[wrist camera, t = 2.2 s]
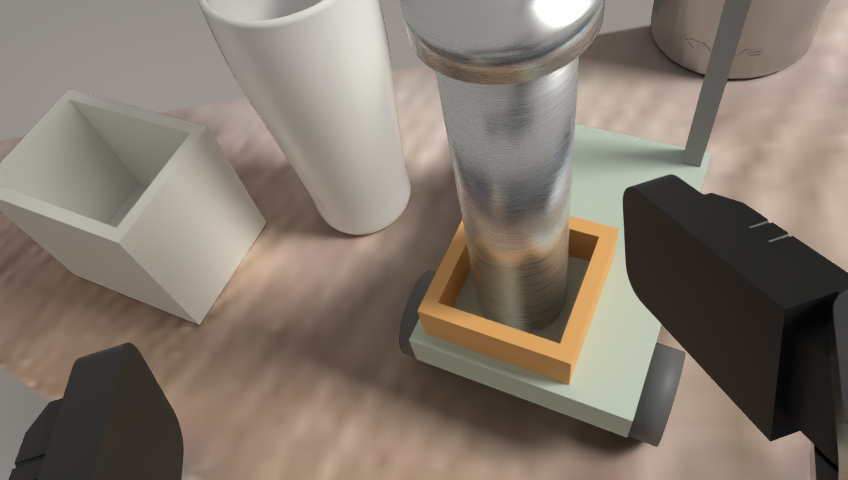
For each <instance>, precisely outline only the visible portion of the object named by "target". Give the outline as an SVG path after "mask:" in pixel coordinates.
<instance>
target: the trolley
mask: <svg viewBox="0 0 848 480" xmlns="http://www.w3.org/2000/svg"><path fill="white" fill-rule="evenodd" d="M751 1H752V0H725V3H724V7H723V11H722V14H721V18H720V22H719V25H718V29H717V33H716V36H715V40H714V44H713V48H712V51H711V55H710V59H709V62H708V66H707V70H706V74H705V77H704V81H703V85H702V88H701V92H700V96H699V100H698V103H697V107H696V111H695V114H694V118H693V122H692V125H691V129H690V133H689V137H688V140H687V144H686V148H684V147H679V146H675V145H670V144H666V143H661V142H656V141H652V140H647V139H643V138H638V137H634V136H629V135H625V134H620V133H615V132H611V131H606V130H602V129H597V128H593V127H588V126H583V125H579V124H575V137H574V155H573V173H572V191H571V209H570V228H569V246H568V264H567V282H566V299H565V304H564V307H563V310H562V312H561V313H560V315H559V316H558V318H557V319H556V320H555V321H554V322H553V323H552V324H551V325H549V326H548V327H546V328H544V329H542V330H540V331H537V332H534V333H527V332H524V331H521V330H518V329H515V328H512V327H509V326H506V325H503V324H500V323H497V322H494V321H491V320H488V319H486V318H485V317H484V316H483V314H482V312H481V311H480V308H479V305H478V301H477V296H476V290H475V285H474V279H473V274H472V268H471V263H470V257H469V252H468V247H467V241H466V236H465V230H464V225H463V219H462V221H461V223H460V225H459V227H458V229H457V231H456V233H455V235H454V237H453V239H452V241H451V243H450V245H449V247H448V250H447V252H446V254H445V256H444V258H443V260H442V262H441V264H440V266H439V268H438V270H437V272H434V271H428V272H426V273H425V274H424V275H423V276H422V277H421V278H420V279H419V281H418V282H417V284H416V285H415V287H414V289H413V291H412V293H411V295H410V297H409V300H408V302H407V305H406V308H405V311H404V314H403V318H402V322H401V327H400V335H399V343H400V348H401V350H402V352H403V353H406V354H408V355H411V356H414V357H416V359H417V360H420V361H423V362H425V363H428V364H431V365H433V366H436V367H439V368H441V369H444V370H447V371H449V372H452V373H455V374H457V375H460V376H463V377H465V378H468V379H471V380H473V381H476V382H479V383H482V384H484V385H487V386H490V387H492V388H495V389H498V390H500V391H503V392H506V393H508V394H511V395H514V396H516V397H519V398H522V399H524V400H527V401H530V402H532V403H535V404H538V405H541V406H543V407H546V408H549V409H551V410H554V411H557V412H559V413H562V414H565V415H567V416H570V417H573V418H575V419H578V420H581V421H583V422H586V423H589V424H591V425H594V426H597V427H600V428H602V429H605V430H608V431H610V432H613V433H616V434H618V435H621V436H624V437H626V438H627V436H629V437H632V438H634V439H637V440H640V441H642V442H645V443H648V444H651V445H653V446H656V447H657V446H658V445H659V443H660V440H661V438H662V435H663V432H664V429H665V426H666V423H667V420H668V417H669V414H670V411H671V408H672V405H673V401H674V398H675V394H676V391H677V387H678V384H679V380H680V376H681V372H682V368H683V364H684V359H685V352H684V351H681V350H678V349H675V348H672V347H668V346H665V345H662V344H659V343H656V341H657V338H658V334H659V331H660V327H661V323H660V322H659V321H658V320H657V319H656V318H655V316H654V315H653V314H652V313H651V312H650V311H649V310H648V309H647V308H646V307H645V306H644V305H643V304H642V302H641V301H640V300H639V299H638V297H637V296H636V294H635V292H634V291H633V288H632V286H631V284H630V281H629V278H628V275H627V270H626V261H625V241H624V221H623V194H624V191H625V189H626V188H628V187H630V186H634V185H637V184H640V183H643V182H646V181H650V180H653V179H656V178H659V177H662V176H665V175H669V174H673V175H676V176H677V177H679V178H680V179H682V180H683V181H685V182H686V183H687V184H689V185H690V186H692V187H693V188H695V189H696V190H697V191H699V192H701V188H702V185H703V181H704V178H705V175H706V171H707V168H708V164H709V161H710V158H711V153H707V152H705V150H706V146H707V143H708V140H709V137H710V134H711V130H712V127H713V124H714V121H715V117H716V114H717V111H718V108H719V104H720V101H721V98H722V95H723V91H724V88H725V85H726V82H727V78H728V75H729V72H730V69H731V66H732V62H733V59H734V56H735V53H736V49H737V46H738V43H739V40H740V36H741V33H742V30H743V27H744V23H745V20H746V17H747V14H748V10H749V7H750V4H751ZM703 195H705V194H703Z"/></svg>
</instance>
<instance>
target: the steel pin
mask: <svg viewBox="0 0 848 480" xmlns="http://www.w3.org/2000/svg"><path fill="white" fill-rule="evenodd" d="M400 2H401V7H402V11H403V16H404V21H405V25H406V30H407V34H408V39H409V42H410V44H411V46H412V49H413V50H414V52H415V53H416V55H417V56H418V57H419V58H420V59H421V60H422V61H423V62H424V63H425V64H426V65H428V66H429V67H430V68H432V69H433V70H435V71H436V77H437V82H438V88H439V93H440V99H441V104H442V110H443V115H444V121H445V126H446V131H447V137H448V142H449V148H450V153H451V159H452V164H453V170H454V175H455V181H456V186H457V192H458V197H459V203H460V208H461V214H462V219H463V225H464V230H465V236H466V241H467V247H468V252H469V257H470V263H471V268H472V274H473V279H474V285H475V290H476V296H477V301H478V305H479V308H480V311H481V312H482V314H483V316H484V317H485V318H486V319H488V320H491V321H494V322H497V323H500V324H503V325H506V326H509V327H512V328H515V329H518V330H521V331H524V332H527V333H534V332H537V331H540V330H542V329H544V328H546V327H548V326H549V325H551V324H552V323H553V322H554V321H555V320H556V319H557V318H558V316H559V315H560V313H561V312H562V310H563V307H564V304H565V299H566V282H567V264H568V246H569V228H570V209H571V191H572V173H573V155H574V137H575V118H576V100H577V82H578V64H579V56H580V55H581V54H582V53H583V52H584V51H585V50H586V49H587V48H588V47H589V46H590V45H591V43H592V42H593V41H594V40H595V38H596V36H597V34H598V32H599V30H600V28H601V25H602V21H603V14H604V4H605V0H400Z"/></svg>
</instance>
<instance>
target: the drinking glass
mask: <svg viewBox="0 0 848 480" xmlns="http://www.w3.org/2000/svg"><path fill="white" fill-rule="evenodd" d="M198 3H199V5H200V7H201V9H202V11H203V13H204V15H205V18H206V20H207V23H208V25H209V27H210V29H211V32H212V34H213V36H214V38H215V40H216V42H217V44H218V46H219V48H220V50H221V52H222V54H223V56H224V58H225V60H226V62H227V64H228V66H229V68H230V70H231V71H232V73H233V75H234V77H235V79H236V80H237V82H238V84H239V86H240V87H241V89H242V90H243V92H244V94H245V95H246V97H247V99H248V100H249V102H250V103H251V105H252V106H253V108H254V109H255V111H256V112H257V114H258V116H259V117H260V119H261V120H262V122H263V123H264V125H265V126H266V128H267V129H268V131H269V132H270V134H271V135H272V137H273V138H274V140H275V141H276V143H277V144H278V146H279V147H280V149H281V150H282V152H283V153H284V155H285V157H286V158H287V160H288V161H289V163H290V164H291V166H292V167H293V169H294V170H295V172H296V173H297V175H298V177H299V178H300V180H301V181H302V183H303V184H304V186H305V187H306V189H307V191H308V192H309V194H310V195H311V197H312V199H313V201H314V203H315V205H316V207H317V209H318V211H319V213H320V215H321V216H322V218H323V219H324V220H325V221H326V222H327V223H328V224H329V225H330V226H331V227H333V228H334V229H336V230H338V231H341V232H343V233H347V234H353V235H364V234H370V233H374V232H377V231H380V230H382V229H384V228H386V227H388V226H389V225H391V224H392V223H393V222H395V221H396V220H397V219H398V218H399V217H400V216H401V214H402V213H403V212H404V210H405V209H406V207H407V205H408V202H409V199H410V194H411V183H410V178H409V174H408V171H407V167H406V163H405V157H404V150H403V143H402V137H401V130H400V123H399V116H398V108H397V101H396V94H395V86H394V79H393V72H392V65H391V57H390V50H389V44H388V38H387V33H386V28H385V22H384V18H383V14H382V9H381V5H380V1H379V0H198Z"/></svg>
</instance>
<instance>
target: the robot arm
mask: <svg viewBox="0 0 848 480" xmlns="http://www.w3.org/2000/svg"><path fill="white" fill-rule="evenodd" d="M724 3H725V0H654V5H653V11H652V17H651V31H652V35H653V38H654V40H655V42H656V43H657V45H658V47H659V48H660V49H661V50H662V51H663V52H664V53H665V54H666V55H667V56H668V57H669V58H670V59H672V60H673V61H675V62H676V63H678V64H679V65H681V66H683V67H685V68H688V69H690V70H692V71H695V72H697V73H701V74H706V70H707V66H708V62H709V59H710V55H711V51H712V48H713V44H714V40H715V36H716V33H717V29H718V25H719V22H720V18H721V14H722V11H723V7H724ZM828 3H829V0H752V1H751V4H750V7H749V10H748V14H747V17H746V20H745V23H744V27H743V30H742V33H741V36H740V40H739V43H738V46H737V49H736V53H735V56H734V59H733V62H732V66H731V69H730V72H729V75H728V78H730V79H735V78H753V77H758V76H764V75H768V74H771V73H774V72H777V71H780V70H783V69H784V68H786V67H788V66H790V65H791V64H793V63H795V62H796V61H797V60H798V59H799V58H800V57H801V56H803V55H804V54H805V53H806V51H807V49H808V48H809V46H810V44H811V43H812V40H813V38H814V36H815V33H816V31H817V28H818V26H819V24H820V21H821V19H822V17H823V14H824V12H825V10H826V7H827V5H828ZM623 221H624V241H625V261H626V270H627V275H628V278H629V281H630V284H631V286H632V288H633V291H634V292H635V294H636V296H637V297H638V299H639V300H640V301H641V302H642V304H643V305H644V306H645V307H646V308H647V309H648V310H649V311H650V312H651V313H652V314H653V315H654V316H655V318H656V319H657V320H658V321H659V322H660V323H661V324H662V325H663V326H664V327H665V328H666V329H667V331H668V332H669V333H670V334H671V335H672V336H673V337H674V338H675V339H676V340H677V341H678V342H679V343H680V345H681V346H682V347H683V348H684V349H685V350H686V351H687V352H688V353H689V354H690V355H691V356H692V358H693V359H694V360H695V361H696V362H697V363H698V364H699V365H700V366H701V367H702V368H703V369H704V370H705V372H706V373H707V374H708V375H709V376H710V377H711V378H712V379H713V380H714V381H715V382H716V383H717V385H718V386H719V387H720V388H721V389H722V390H723V391H724V392H725V393H726V394H727V395H728V396H729V397H730V399H731V400H732V401H733V402H734V403H735V404H736V405H737V406H738V407H739V408H740V409H741V410H742V411H743V413H744V414H745V415H746V416H747V417H748V418H749V419H750V420H751V421H752V422H753V423H754V424H755V426H756V427H757V428H758V429H759V430H760V431H761V432H762V433H763V434H764V435H765V436H766V437H767V438H768V440H769V441H773V440H776V439H779V438H781V437H784V436H787V435H789V434H792V433H795V432H798V431H801V432H802V433H803V434H804V435H805V436H806V437H807V438H808V439H809V440H810V441H811V442H812V443H811V449H810V477H811V480H848V273H847V272H846V271H844V270H843V269H841V268H840V267H838V266H837V265H835V264H834V263H832V262H831V261H829V260H828V259H826V258H825V257H823V256H822V255H820V254H819V253H817V252H816V251H814V250H813V249H811V248H810V247H808V246H807V245H805V244H804V243H802V242H801V241H799V240H798V239H796V238H795V237H794V236H791V237H789V236H788V232H786V231H785V230H783V229H782V228H780V227H779V226H777V225H776V224H774V223H773V222H772V223H769V222H768V219H767V218H765V217H764V216H762V215H761V214H759V213H758V212H756V211H755V210H753V209H752V208H750V207H749V206H747V205H746V204H744V203H742V202H739V201H735V200H732V199H729V198H726V197H723V196H720V195H716V194H713V193H709V194H706V195H703V194H702V193H700V192H699V191H697V190H696V189H695V188H693V187H692V186H690V185H689V184H687V183H686V182H685V181H683V180H682V179H680V178H679V177H677V176H676V175H673V174H669V175H665V176H662V177H659V178H656V179H653V180H650V181H646V182H643V183H640V184H637V185H634V186H630V187H628V188H626V189H625V191H624V194H623ZM183 450H184V449H183V438H182V433H181V429H180V425H179V422H178V419H177V417H176V414H175V412H174V410H173V409H172V407H171V405H170V403H169V402H168V400H167V398H166V397H165V395H164V393H163V391H162V390H161V388H160V386H159V384H158V383H157V381H156V379H155V377H154V376H153V374H152V372H151V370H150V369H149V367H148V365H147V363H146V362H145V360H144V358H143V357H142V355H141V353H140V352H139V350H138V349H137V348H136V347H135V346H134V345H133V344H131V343H125V344H122V345H119V346H116V347H113V348H109V349H106V350H103V351H100V352H97V353H93V354H90V355H87V356H84V357H81V358H78V359H77V360H76V361H75V363H74V365H73V368H72V371H71V374H70V377H69V381H68V384H67V387H66V390H65V393H64V396H63V398H62V399H59V400H55V401H52V402H49V404H48V405H47V406H46V408H45V409H44V410H43V411H42V413H41V414H40V415H39V417H38V418H37V419H36V420H35V422H34V423H33V424H32V426H31V427H30V428H29V430H28V431H27V432H26V433H25V436H24V439H23V442H22V444H21V447H20V450H19V453H18V455H17V458H16V461H15V465H16V468H15V469H13V470H12V472H11V475H10V477H9V480H181V476H182V464H183Z"/></svg>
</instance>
